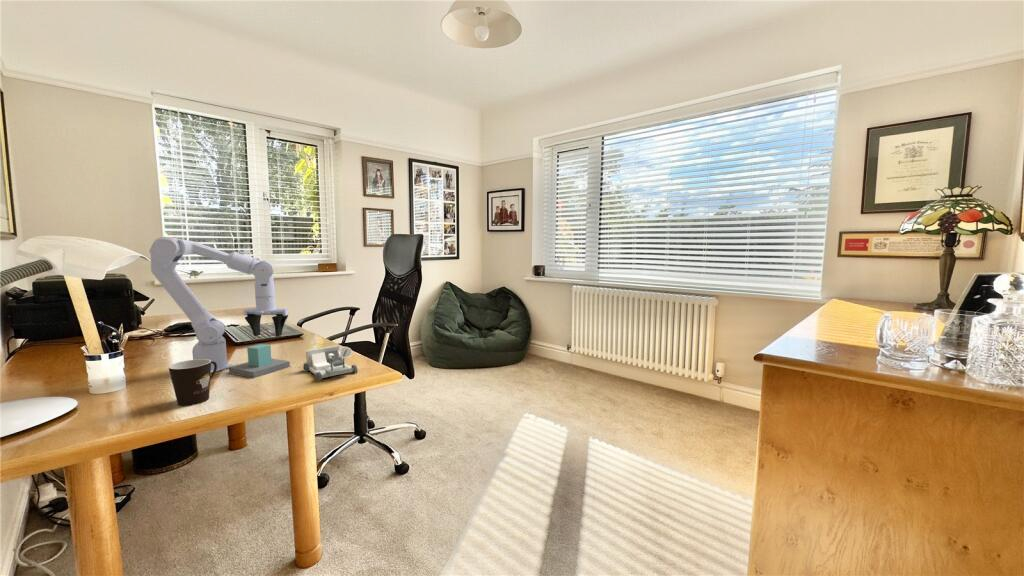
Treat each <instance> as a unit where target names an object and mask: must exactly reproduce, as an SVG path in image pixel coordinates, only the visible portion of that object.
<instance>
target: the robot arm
mask: <svg viewBox="0 0 1024 576" xmlns="http://www.w3.org/2000/svg"><path fill="white" fill-rule="evenodd" d="M149 253H150V270H151V273H152V275H154V277H155V278H156V279H157V281H158V282H159V283H160V284H161V285H162V287H163V288H164V289H165V290H166V292H167V293H168V294H169V295H170V296H171V298H172V299H173V301H174V302H175V303H176V305H177V306H179V308H180V310H182V312H183V313H184V314H185V316H186V317H187V318H188V319H189V321H190V323H191V324H190V325H191V327H192V329H193V330H194V332H195V336H196V339H197V340H198V341H197V342H196V343H195V345H194V346H193V347H192V351H191V352H192V353H191V354H192V360H195V359H209V360H211V361H214V362H216V364H217V370H216V372H219V371H222V370H226V369H229V367H232V366H235V365H234V364H231V363H228V354H227V341H226V338H225V337H224V336H223V335H224V334H225V331H226V326H225V324H224V322H222V321H221V320H218V319H216V317H215V316H214V315H213V314H212V313H210V312H209V311H207V309H206V308H205V306H204V305H203V304H202V303H201V302H200V300H199V299H198V298H197V296H196V295H195V294H194V293H193V291H192V290H191V288H190V287H189V286H188V285H187V284H186V283H185V281H184V279H182V277H181V276H180V275H179V273H178V272H177V271H176V267H177V265H178V262H179V260H180V259H181V258H182V257H184V256H186V255H198V256H201V257H204V258H208V259H211V260H213V261H214V260H215V261H217V262H222V263H225V265H226V266H227V268H228V269H231V270H235V271H237V272H240V273H243V274H246V275H253V276H254V295H255V297H254V298H255V308H245V309H243V315H244V316H245V317H244V319H245V321H246V322H247V323H248V325H249V327H250V329H251V331H252V334H253V336H254V337H258V336H260V335H261V320H262V319H261V318H262V316H272V317H271V319H272V322H273V325H274V332H275V337H281V336H282V334H283V330H284V326H285V324H286V322H287V319H288V317H289V314H290V311H289V308H277V305H276V303H277V302H276V291H275V290H276V287H275V280H274V279H275V278H274V271H275V269H274V266H273V264H271V263H270V262H269V261H267V260H261V258H260V257H256V258H255V257H253V256H250V255H247V254H245V252H243V251H239V252H238V251H233V252H230V253H227V252H225V251H223V250H220V249H216V248H214V247H211V246H208V245H205V244H203V243H200V242H197V241H192V240H190V239H189V240H187V239H181V238H179V237H176V236H175V237H174V236H171V237H169V236H161V237H158V238H156V239H155V240H154V241H153V243H152V245H151V246H150V248H149ZM213 371H214V364H212V363H211V373H210V374H212V373H213Z"/></svg>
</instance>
